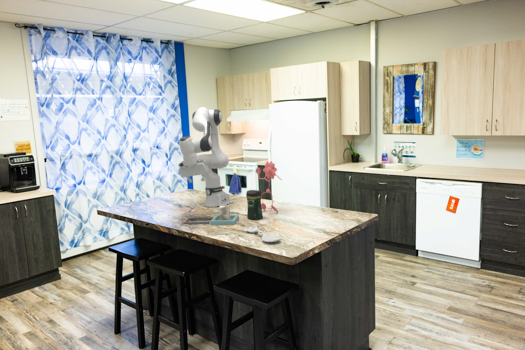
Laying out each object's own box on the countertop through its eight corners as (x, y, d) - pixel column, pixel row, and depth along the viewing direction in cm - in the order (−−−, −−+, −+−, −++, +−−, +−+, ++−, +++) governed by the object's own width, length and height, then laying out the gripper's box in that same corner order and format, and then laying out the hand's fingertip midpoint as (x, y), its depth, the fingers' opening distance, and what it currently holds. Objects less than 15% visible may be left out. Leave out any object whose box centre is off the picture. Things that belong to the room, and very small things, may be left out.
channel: (182, 224, 258) (181, 222, 258) (188, 219, 270) (187, 217, 270) (208, 224, 256) (208, 222, 256) (213, 219, 268) (213, 217, 267)
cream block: (219, 222, 258) (218, 207, 257) (221, 220, 263) (220, 205, 262) (228, 222, 258) (227, 207, 256) (230, 220, 262) (229, 205, 261)
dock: (210, 225, 254) (210, 221, 254) (216, 218, 269) (216, 215, 268) (234, 224, 252) (233, 220, 252) (238, 218, 267) (238, 214, 266)
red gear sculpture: (277, 216, 267) (275, 163, 262) (251, 210, 286) (249, 161, 282) (293, 212, 277) (292, 161, 272) (268, 207, 296) (266, 159, 292)
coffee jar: (264, 217, 266) (263, 189, 263) (257, 220, 260) (255, 191, 257) (253, 216, 272) (251, 188, 269) (245, 218, 265) (243, 190, 263)
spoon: (255, 229, 241) (255, 223, 241) (283, 243, 213) (283, 236, 213) (241, 231, 237) (241, 226, 236) (268, 246, 209) (268, 239, 208)
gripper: (207, 157, 260) (213, 178, 264) (181, 162, 269) (187, 182, 272) (202, 160, 255) (208, 181, 258) (175, 164, 263) (181, 185, 267)
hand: (197, 181), depth 265 cm, fingers open, 8 cm apart
